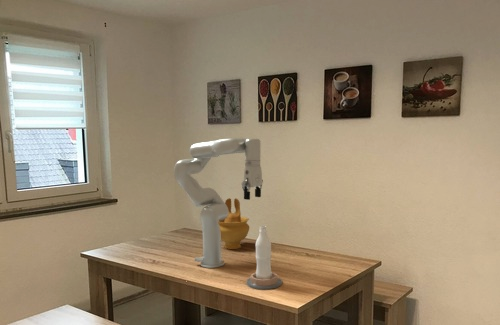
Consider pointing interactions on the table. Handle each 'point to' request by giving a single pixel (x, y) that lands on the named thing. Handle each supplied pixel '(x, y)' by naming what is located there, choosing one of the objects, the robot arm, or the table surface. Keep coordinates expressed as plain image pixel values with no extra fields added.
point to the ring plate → (264, 282)
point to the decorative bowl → (233, 226)
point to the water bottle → (263, 255)
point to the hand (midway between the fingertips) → (252, 198)
